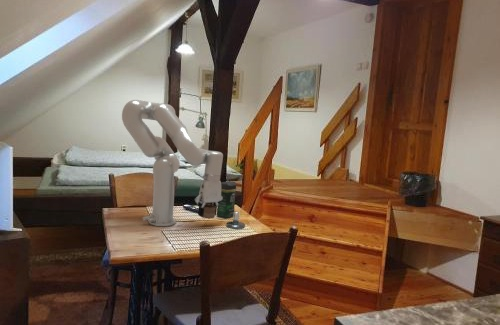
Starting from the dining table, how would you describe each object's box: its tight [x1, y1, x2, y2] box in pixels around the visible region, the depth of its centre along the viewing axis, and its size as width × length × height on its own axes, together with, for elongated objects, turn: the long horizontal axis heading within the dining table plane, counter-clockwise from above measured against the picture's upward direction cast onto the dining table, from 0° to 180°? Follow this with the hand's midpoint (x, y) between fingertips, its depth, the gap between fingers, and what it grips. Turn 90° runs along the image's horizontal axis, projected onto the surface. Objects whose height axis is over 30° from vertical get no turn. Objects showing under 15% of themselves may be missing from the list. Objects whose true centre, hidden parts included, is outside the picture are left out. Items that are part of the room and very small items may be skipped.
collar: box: [198, 203, 216, 220], centre depth 168 cm, size 7×7×5 cm
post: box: [225, 210, 246, 230], centre depth 172 cm, size 9×9×7 cm
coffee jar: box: [216, 180, 237, 219], centre depth 188 cm, size 10×8×19 cm
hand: (207, 214), depth 168 cm, fingers closed on collar, 7 cm apart
